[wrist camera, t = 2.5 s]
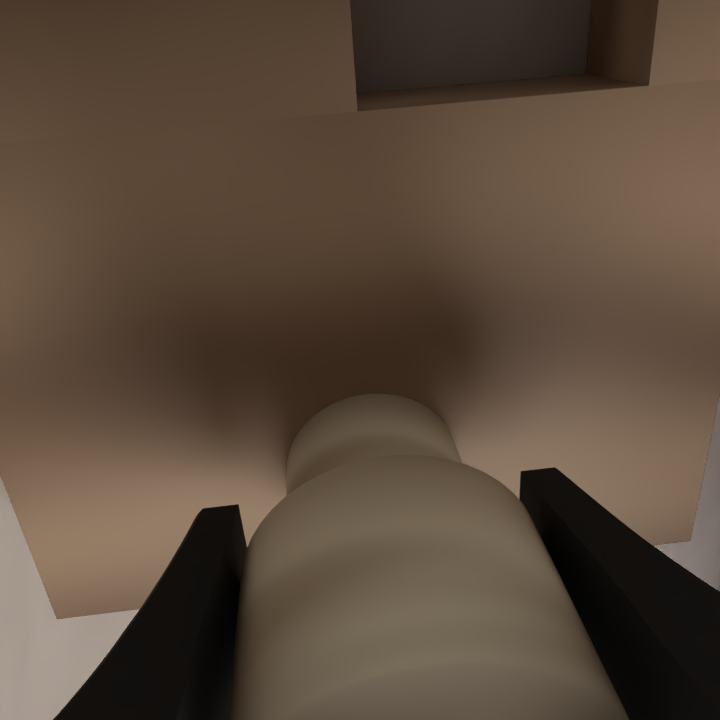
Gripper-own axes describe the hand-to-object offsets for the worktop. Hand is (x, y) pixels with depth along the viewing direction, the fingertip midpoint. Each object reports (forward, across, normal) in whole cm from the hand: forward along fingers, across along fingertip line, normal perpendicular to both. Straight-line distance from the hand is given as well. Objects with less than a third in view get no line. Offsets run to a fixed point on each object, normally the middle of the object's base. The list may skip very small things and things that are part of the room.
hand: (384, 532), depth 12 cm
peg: (+2, 0, 0) cm, 2 cm away
